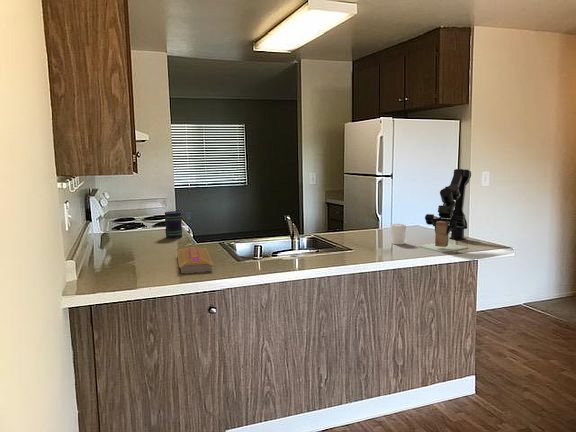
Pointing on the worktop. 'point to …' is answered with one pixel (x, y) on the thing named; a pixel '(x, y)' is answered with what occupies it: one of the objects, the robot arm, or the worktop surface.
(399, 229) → the white cup
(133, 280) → the worktop surface
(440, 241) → the walnut block
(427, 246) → the sage placemat
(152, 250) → the worktop surface
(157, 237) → the worktop surface
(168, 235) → the storage jar
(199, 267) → the pink-topped tan slab
